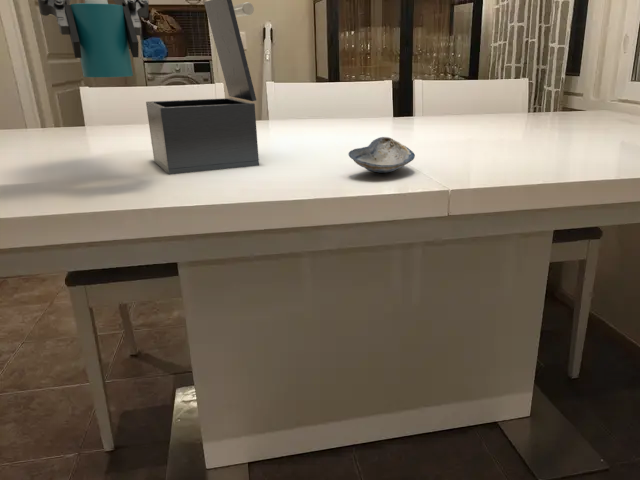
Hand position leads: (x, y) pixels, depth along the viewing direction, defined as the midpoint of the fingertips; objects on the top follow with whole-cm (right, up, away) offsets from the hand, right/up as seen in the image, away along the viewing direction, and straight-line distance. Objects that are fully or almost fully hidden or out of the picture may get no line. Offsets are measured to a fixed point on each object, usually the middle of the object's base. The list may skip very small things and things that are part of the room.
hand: (107, 49), depth 74 cm
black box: (+4, -9, +30) cm, 32 cm away
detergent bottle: (-2, -2, +4) cm, 5 cm away
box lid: (+10, +10, +26) cm, 29 cm away
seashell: (+37, -12, +22) cm, 45 cm away
